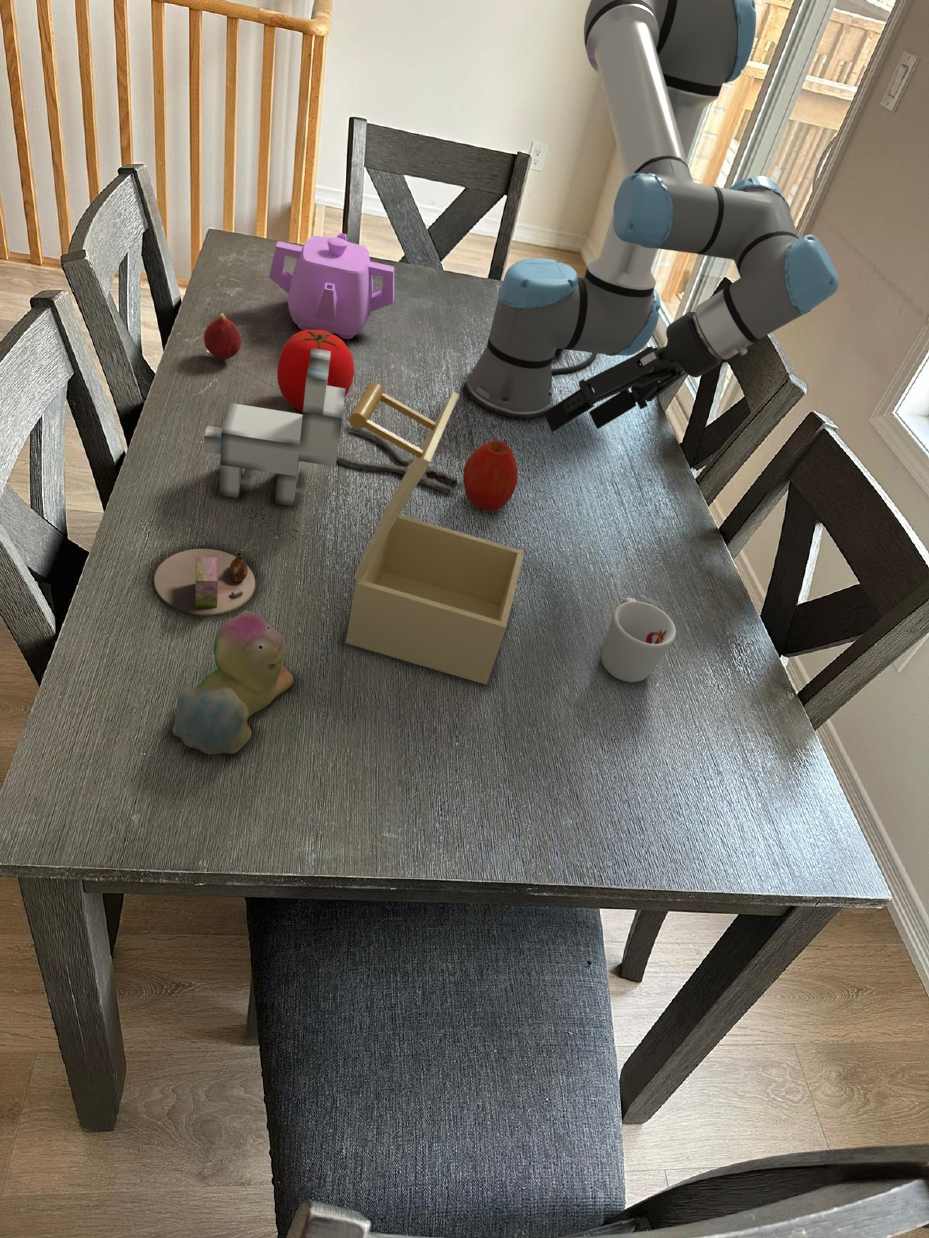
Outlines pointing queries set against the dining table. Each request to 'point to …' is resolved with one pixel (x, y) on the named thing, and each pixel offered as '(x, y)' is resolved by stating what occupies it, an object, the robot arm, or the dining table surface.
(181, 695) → the sculpture
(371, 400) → the lid
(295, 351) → the tomato
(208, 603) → the pink plate
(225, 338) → the onion
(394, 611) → the chest
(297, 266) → the teapot
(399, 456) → the pliers
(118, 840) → the dining table surface
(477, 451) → the apple
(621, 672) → the cup
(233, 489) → the toy llama
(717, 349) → the robot arm
